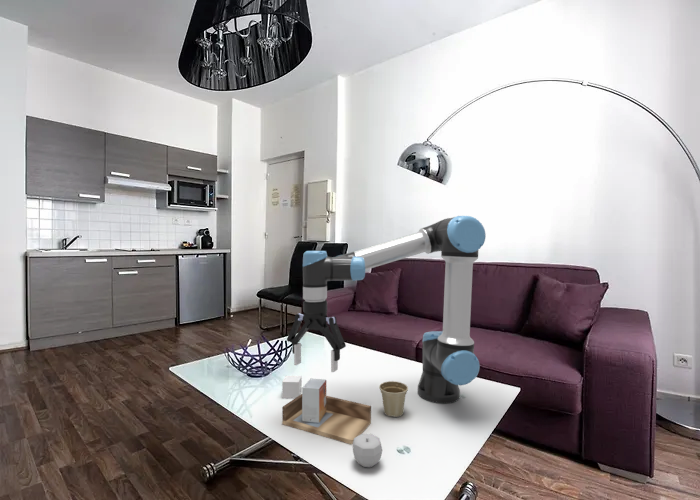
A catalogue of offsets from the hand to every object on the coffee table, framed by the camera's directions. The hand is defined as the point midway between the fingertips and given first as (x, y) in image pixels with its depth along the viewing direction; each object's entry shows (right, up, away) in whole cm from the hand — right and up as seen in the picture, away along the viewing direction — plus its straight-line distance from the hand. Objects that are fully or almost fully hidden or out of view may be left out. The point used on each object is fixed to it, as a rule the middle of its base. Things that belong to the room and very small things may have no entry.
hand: (315, 367), depth 109 cm
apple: (+15, -17, -21) cm, 31 cm away
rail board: (+4, -17, -2) cm, 17 cm away
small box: (0, -16, 0) cm, 16 cm away
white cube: (-11, -17, +19) cm, 27 cm away
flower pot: (+25, -17, +5) cm, 31 cm away
